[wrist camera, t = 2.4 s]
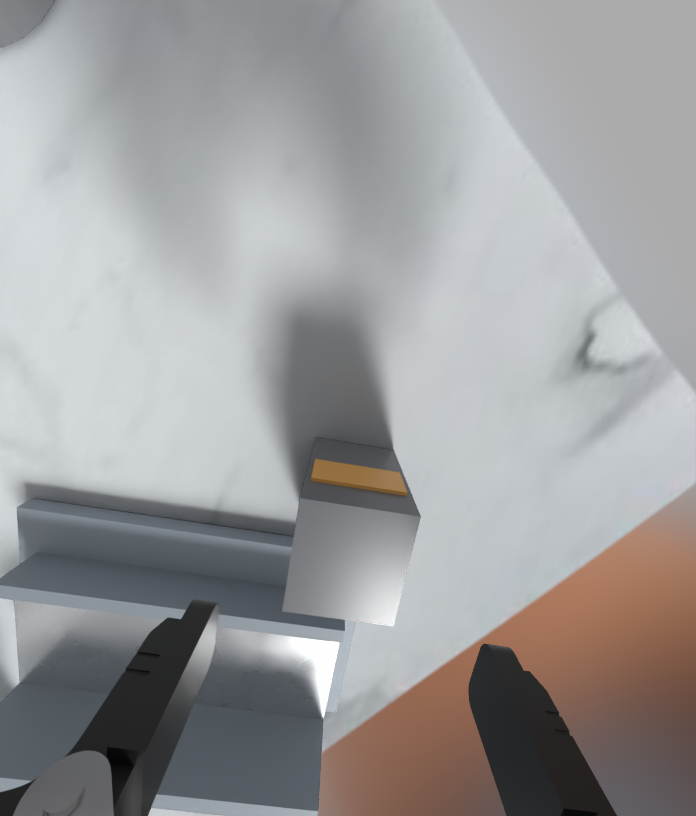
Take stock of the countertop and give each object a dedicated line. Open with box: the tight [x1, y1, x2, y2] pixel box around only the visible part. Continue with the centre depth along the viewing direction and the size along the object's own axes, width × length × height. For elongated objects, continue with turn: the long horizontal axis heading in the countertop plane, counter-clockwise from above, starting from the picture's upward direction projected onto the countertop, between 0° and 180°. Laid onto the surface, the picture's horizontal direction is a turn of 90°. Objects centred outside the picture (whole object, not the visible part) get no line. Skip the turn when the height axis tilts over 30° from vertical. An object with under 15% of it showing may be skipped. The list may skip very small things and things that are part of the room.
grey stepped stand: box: [0, 499, 356, 816], centre depth 18 cm, size 12×20×6 cm, turn 80°
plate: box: [14, 600, 339, 719], centre depth 20 cm, size 7×18×2 cm, turn 80°
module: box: [282, 437, 421, 626], centre depth 16 cm, size 5×4×7 cm
